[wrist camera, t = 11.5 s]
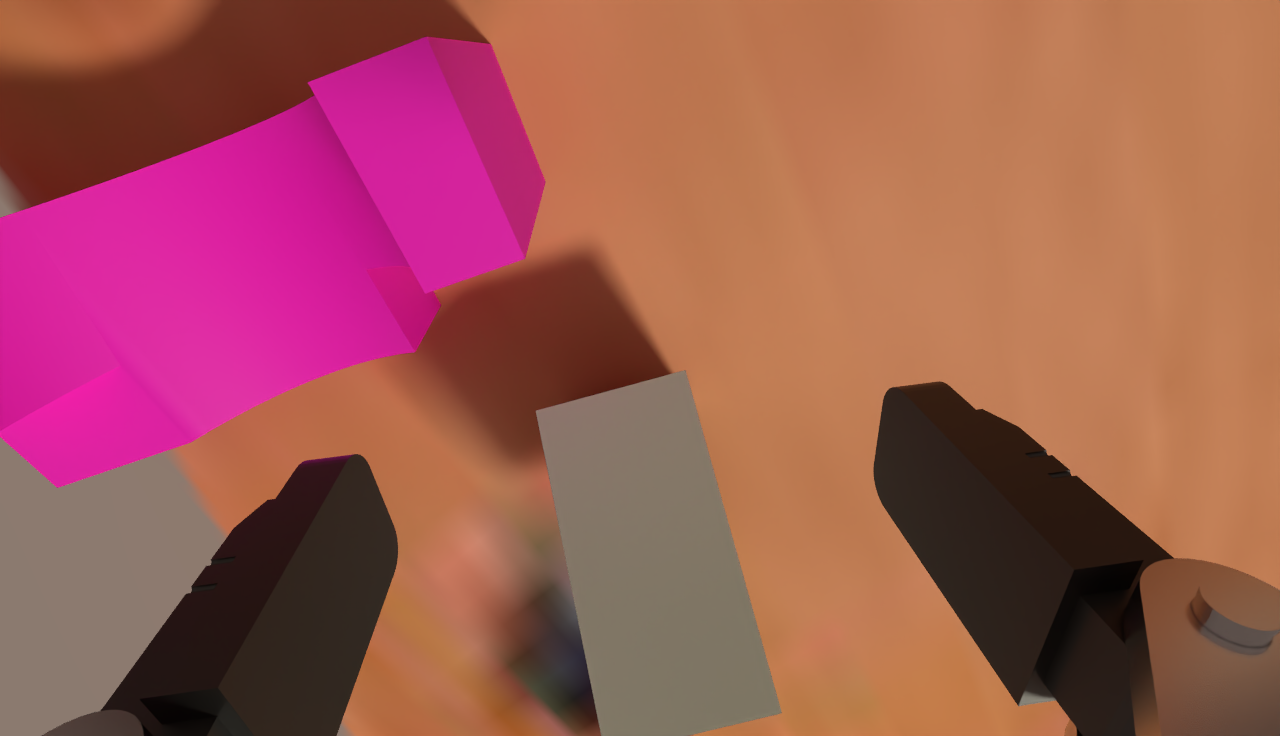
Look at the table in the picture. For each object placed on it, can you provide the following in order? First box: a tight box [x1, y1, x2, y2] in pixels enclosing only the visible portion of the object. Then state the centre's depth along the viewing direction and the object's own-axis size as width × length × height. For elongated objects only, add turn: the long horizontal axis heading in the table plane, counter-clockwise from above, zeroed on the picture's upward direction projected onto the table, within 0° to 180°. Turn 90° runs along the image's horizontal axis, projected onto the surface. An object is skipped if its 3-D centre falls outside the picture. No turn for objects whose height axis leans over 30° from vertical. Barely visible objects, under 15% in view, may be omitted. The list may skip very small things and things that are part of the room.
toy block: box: [0, 37, 545, 488], centre depth 14 cm, size 15×6×8 cm, turn 108°
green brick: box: [536, 370, 782, 736], centre depth 18 cm, size 4×9×5 cm
